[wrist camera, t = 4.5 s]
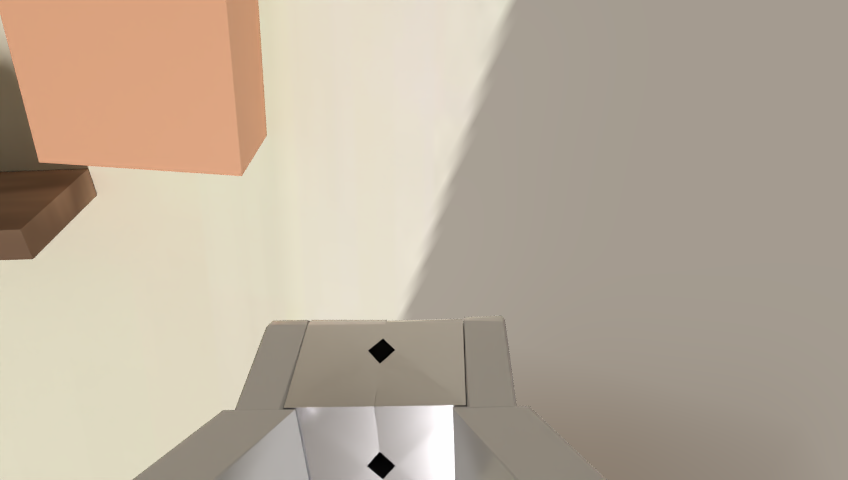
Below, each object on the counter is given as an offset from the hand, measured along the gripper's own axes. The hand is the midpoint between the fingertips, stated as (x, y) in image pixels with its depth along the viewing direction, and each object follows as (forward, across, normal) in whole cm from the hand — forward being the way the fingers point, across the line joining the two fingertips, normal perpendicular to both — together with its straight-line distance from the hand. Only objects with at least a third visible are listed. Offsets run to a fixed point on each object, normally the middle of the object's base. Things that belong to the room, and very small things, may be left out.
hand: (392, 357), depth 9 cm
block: (+18, +10, 0) cm, 20 cm away
